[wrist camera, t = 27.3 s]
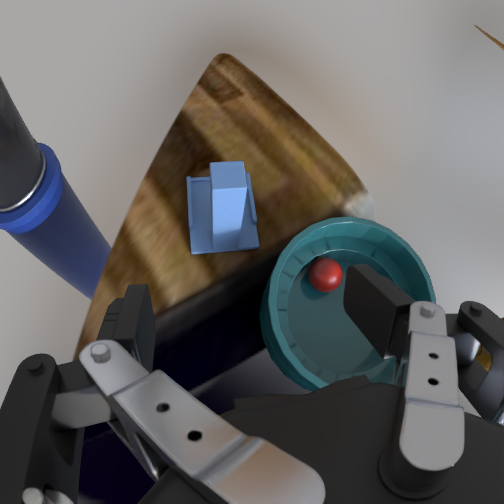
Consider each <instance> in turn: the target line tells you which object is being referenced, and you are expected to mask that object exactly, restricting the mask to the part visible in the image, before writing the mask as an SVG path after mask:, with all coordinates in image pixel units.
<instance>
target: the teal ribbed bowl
mask: <svg viewBox="0 0 504 504" xmlns="http://www.w3.org/2000/svg"><path fill="white" fill-rule="evenodd" d="M321 258H331V259H333V260H335V261H336V262H338V264H339V265H340V266H341V268H342V272H343V278H342V282H341V284H340V285H339V286H338V288H336V289H335V290H333V291H331V292H320V291H318V290H316V289H315V288H314V287H313V286H312V285H311V283H310V281H309V276H308V274H309V269H310V267H311V265H312V264H313V263H314V262H315V261H316V260H318V259H321ZM358 264H367V265H369V266H370V267H371V268H372V269H374V270H375V271H376V272H377V273H378V274H380V275H382V276H385V277H387V278H389V279H390V280H391V281H392V282H393V283H395V285H397V286H398V287H399V288H400V289H401V290H403V291H404V292H405V293H406V294H408V295H409V296H410V297H411V298H412V299H414V300H415V301H416V302H417V301H428V302H432V303H435V304H436V298H435V294H434V290H433V286H432V283H431V279H430V276H429V274H428V272H427V270H426V268H425V266H424V264H423V263H422V260H421V259H420V258H419V256H418V255H417V254H416V253H415V251H414V250H413V249H412V248H411V246H410V245H409V244H408V243H407V242H406V241H405V240H403V239H402V238H401V237H400V236H398V235H397V234H396V233H394V232H393V231H392V230H390V229H388V228H386V227H384V226H382V225H380V224H378V223H376V222H374V221H371V220H366V219H361V218H356V217H337V218H329V219H326V220H323V221H321V222H318V223H315V224H312V225H310V226H309V227H307V228H306V229H304V230H303V231H302V232H300V233H299V234H297V235H296V236H295V237H294V238H293V239H292V240H291V241H290V242H289V244H288V245H287V246H286V248H285V249H284V250H283V251H282V253H281V254H280V255H279V258H278V260H277V262H276V264H275V266H274V268H273V270H272V272H271V274H270V276H269V279H268V281H267V284H266V286H265V289H264V291H263V293H262V297H261V306H260V314H259V319H260V325H261V332H262V338H263V341H264V343H265V345H266V348H267V350H268V352H269V354H270V357H271V359H272V360H273V361H274V363H275V364H276V365H277V366H278V367H279V369H280V370H281V371H282V372H283V374H284V375H286V377H288V378H289V379H291V380H292V381H294V382H295V383H296V384H298V385H299V386H301V387H303V388H304V389H307V390H310V391H316V390H318V389H320V388H322V387H325V386H327V385H329V384H331V383H333V382H336V381H339V380H344V379H348V378H352V377H356V376H360V375H364V374H366V376H367V377H368V379H369V380H370V382H371V383H387V384H391V381H392V375H393V370H394V364H395V361H396V356H395V357H391V358H387V359H384V360H383V359H382V357H381V356H380V355H379V353H378V352H377V351H376V350H375V348H374V347H373V346H372V345H371V343H370V342H369V341H368V340H367V338H366V337H365V336H364V335H363V333H362V332H361V331H360V330H359V328H358V327H357V326H356V325H355V323H354V322H353V321H352V320H351V318H350V317H349V316H348V315H347V314H346V312H345V310H344V305H343V297H344V289H345V281H346V272H347V268H348V267H349V266H350V265H358Z"/></svg>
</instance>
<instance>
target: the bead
mask: <svg viewBox="0 0 504 504" xmlns="http://www.w3.org/2000/svg"><path fill="white" fill-rule="evenodd" d="M308 276H309V281H310V283H311V285H312V286H313V287H314V288H315V289H316V290H318V291H320V292H331V291H333V290H335V289H336V288H338V286H339V285H340V284H341V282H342V278H343V272H342V268H341V266H340V265H339V264H338V262H336V261H335V260H333V259H331V258H321V259H318V260H316V261H315V262H314V263H313V264H312V265H311V267H310V269H309V274H308Z"/></svg>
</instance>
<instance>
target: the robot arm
mask: <svg viewBox="0 0 504 504" xmlns="http://www.w3.org/2000/svg"><path fill="white" fill-rule="evenodd" d="M35 142H36V140H35V139H34V138H33V137H32V135H31V134H30V132H29V130H28V128H27V127H26V125H25V123H24V121H23V120H22V118H21V116H20V114H19V112H18V110H17V108H16V106H15V105H14V103H13V101H12V99H11V97H10V95H9V93H8V91H7V89H6V87H5V85H4V83H3V81H2V79H1V77H0V213H1V214H7V213H11V212H14V211H16V210H18V209H20V208H21V207H23V206H24V205H26V204H27V203H28V202H29V201H30V200H31V199H32V198H33V197H34V196H35V194H36V193H37V192H38V190H39V189H40V187H41V185H42V184H43V181H44V179H45V176H46V172H47V161H46V158H45V156H44V155H43V153H42V151H41V150H40V149H39V148H38V146H39V144H38V143H37V142H36V143H37V144H36V143H35ZM37 145H38V146H37ZM39 147H40V146H39ZM343 305H344V310H345V312H346V314H347V315H348V316H349V317H350V318H351V320H352V321H353V322H354V323H355V325H356V326H357V327H358V328H359V330H360V331H361V332H362V333H363V335H364V336H365V337H366V338H367V340H368V341H369V342H370V343H371V345H372V346H373V347H374V348H375V350H376V351H377V352H378V353H379V355H380V356H381V357H382V359H383V360H384V359H387V358H391V357H395V356H396V361H395V364H394V370H393V375H392V381H391V384H387V383H371V382H370V380H369V379H368V377H367V376H366V374H364V375H360V376H356V377H352V378H348V379H344V380H339V381H336V382H333V383H331V384H329V385H327V386H325V387H322V388H320V389H318V390H316V391H313V392H311V393H309V394H304V395H282V394H278V395H277V394H267V395H260V396H253V397H245V398H238V399H233V402H234V409H233V410H231V411H228V412H226V413H223V414H221V415H219V416H218V415H217V414H216V413H214V412H213V411H212V410H210V409H209V408H208V407H206V406H205V405H204V404H202V403H201V402H200V401H198V400H197V399H196V398H195V397H193V396H192V395H191V394H190V393H188V392H187V391H186V390H185V389H183V388H182V387H181V386H180V385H178V384H177V383H176V382H175V381H174V380H172V379H171V378H170V377H169V376H168V375H166V374H165V373H164V372H163V371H161V370H159V369H157V370H155V371H153V372H152V365H153V354H154V344H155V334H156V330H155V320H154V314H153V309H152V303H151V298H150V292H149V287H148V284H137V285H128V288H127V291H126V294H125V297H124V298H117V299H115V300H114V301H113V302H112V303H111V304H110V305H109V306H108V309H107V312H106V315H105V317H104V320H103V321H104V322H103V323H102V325H101V328H100V331H99V334H98V337H97V339H96V341H94V342H92V343H90V344H88V345H87V346H85V347H84V348H83V349H82V351H81V352H80V356H79V358H80V359H79V360H77V361H73V362H69V363H65V364H61V365H57V364H56V362H55V360H54V358H53V357H52V356H50V355H48V354H35V355H32V356H30V357H28V358H26V359H25V360H23V361H22V362H21V363H20V365H19V366H18V368H17V370H16V373H15V375H14V377H13V379H12V382H11V384H10V386H9V389H8V391H7V394H6V396H5V399H4V401H3V404H2V406H1V409H0V504H77V497H78V482H79V471H80V461H81V451H82V444H83V436H84V429H85V426H89V425H93V424H97V423H101V422H105V421H107V423H108V424H109V425H110V426H111V428H112V429H113V430H114V431H115V433H116V434H117V435H118V436H119V438H120V439H121V440H122V441H123V442H124V444H125V445H126V446H127V447H128V448H129V450H130V451H131V452H132V453H133V454H134V455H135V457H136V458H137V459H138V460H139V462H140V463H141V465H142V466H143V468H144V469H145V470H146V472H147V473H148V474H149V475H150V476H151V477H152V479H153V480H154V481H155V482H156V483H155V484H154V486H153V487H152V488H151V489H150V490H149V491H148V492H147V494H146V495H145V496H144V497H143V498H142V499H141V500H140V502H139V503H138V504H504V321H503V320H502V319H501V318H499V317H498V316H497V315H496V314H495V313H493V312H492V311H491V310H490V309H488V308H487V307H486V306H484V305H482V304H480V303H478V302H473V301H466V302H463V303H462V304H461V305H460V309H459V312H458V314H445V312H444V310H443V308H441V307H440V306H438V305H437V304H435V303H432V302H428V301H417V302H416V301H415V300H414V299H412V298H411V297H410V296H409V295H408V294H406V293H405V292H404V291H403V290H401V289H400V288H399V287H398V286H397V285H395V283H393V282H392V281H391V280H390V279H389V278H387V277H385V276H382V275H380V274H378V273H377V272H376V271H375V270H374V269H372V268H371V267H370V266H369V265H367V264H358V265H350V266H349V267H348V268H347V272H346V281H345V289H344V297H343ZM480 344H481V345H482V346H483V347H484V348H485V349H486V350H487V351H488V352H489V353H490V355H491V358H492V363H491V366H490V368H489V370H488V371H487V370H486V369H485V368H484V367H483V366H482V365H481V364H480V363H479V362H478V361H477V360H476V359H475V356H476V353H477V351H478V348H479V346H480ZM458 388H459V389H460V391H461V392H462V393H463V394H464V395H465V397H466V398H467V399H468V401H469V402H470V403H471V404H472V405H473V407H474V408H475V409H476V411H477V412H478V413H479V415H481V417H482V418H481V417H478V416H475V415H472V414H469V413H467V412H464V409H463V407H461V406H460V405H459V393H458V392H459V391H458Z"/></svg>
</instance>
